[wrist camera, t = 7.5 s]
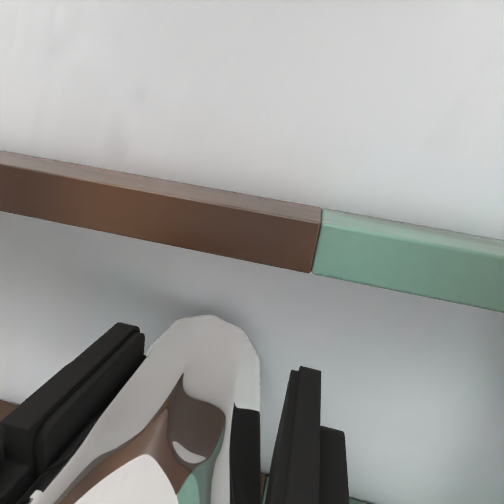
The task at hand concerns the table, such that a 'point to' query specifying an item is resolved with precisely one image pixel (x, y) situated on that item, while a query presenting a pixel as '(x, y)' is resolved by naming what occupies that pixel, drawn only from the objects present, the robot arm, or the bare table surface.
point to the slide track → (257, 232)
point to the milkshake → (170, 427)
